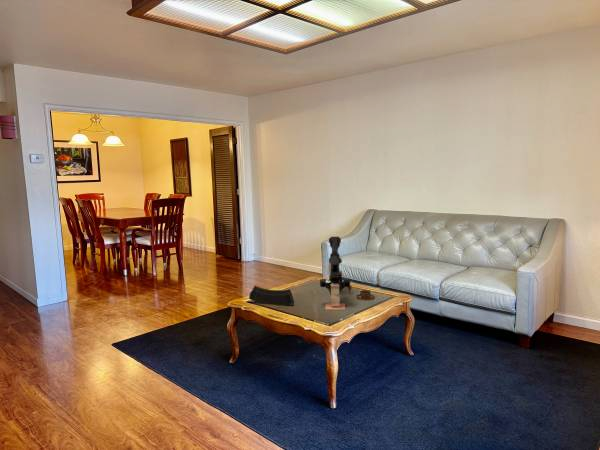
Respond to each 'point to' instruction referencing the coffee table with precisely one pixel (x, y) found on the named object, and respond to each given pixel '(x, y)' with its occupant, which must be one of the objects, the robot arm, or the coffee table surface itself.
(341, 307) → the terracotta mat
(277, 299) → the black flat curved piece
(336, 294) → the birch block
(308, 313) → the coffee table surface
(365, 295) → the place setting
